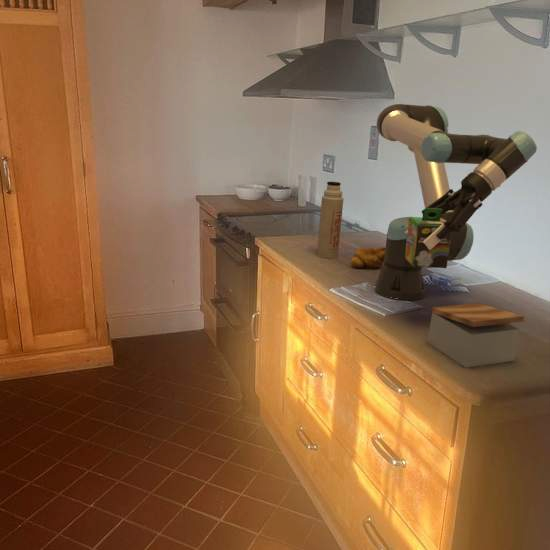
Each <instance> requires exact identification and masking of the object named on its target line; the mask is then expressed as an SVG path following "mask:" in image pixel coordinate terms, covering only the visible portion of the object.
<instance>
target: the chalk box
mask: <svg viewBox="0 0 550 550" xmlns="http://www.w3.org/2000/svg"><path fill="white" fill-rule="evenodd" d="M424 209H425V210H424ZM424 209H423V210H424V213H423V214H422V216H423V217H422V216H409V217H410V218H409V222H408V231H407V240H406V250H405V259H406V260H407V261H408V262H409V263H410V264H411V265H412V266H413V267H415V266H416V267H422V268H423V267H424V268H436V269H437V268H440V269H447V267H448V262H449V261H448V255H449V248H450V241H451V235H452V232H450V233H449V234H447V235H446V236H445V237H444V238H443V239H442V240H441V241H440V242H438V243H437V244H436V245H435V246H434V247H433V248H432V249H431V250H429V249H428V248H427V246H426V245H425V244H424V243H423V241H424V240H425V239H426V238H428V237H429V236H430V235H431V234H432V233H433V232H434V231H435V230H436V229H437V228H439V227H440V226H441V225H442V224H443V225H444V226H445V224H444V222H446V220H444V219H443V218H441V214H442V209H439V208H425V207H424ZM430 212H435V213H436V216H435V217H429V216H428V214H429V213H430Z"/></svg>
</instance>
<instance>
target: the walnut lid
mask: <svg viewBox="0 0 550 550" xmlns="http://www.w3.org/2000/svg"><path fill="white" fill-rule="evenodd" d="M430 312H431V314H432V313H435V314H438V315H441V316H443V317H446V318H449V319H452V320H455V321H458V322H460V323H463V324H466V325H469V326H472V327H477V326H486V325H496V324H505V323H509V324H511V323H512V324H513V323H523V322H524V319H525V316H524V315H520V314H517V313H514V312H510V311H507V310H503V309H501V308H497V307H493V306H489V305H486V304H483V303H480V302H477V303H467V304H466V303H464V304H455V305H443V306H434V307H430Z"/></svg>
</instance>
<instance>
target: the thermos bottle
mask: <svg viewBox="0 0 550 550" xmlns="http://www.w3.org/2000/svg"><path fill="white" fill-rule="evenodd" d="M326 184H327V185H326V189H325V190H324V191H323V196H321V205H320V213H319V214H320V217H319V227H318V237H317V238H318V240H317V249H316V250H317V251H316V256H317V257H320V258H321V259H329V260H330V259H337V258H338V256H339V248H340V236H341V228H342V227H341V226H342V218H343V208H344V207H343V206H344V197H343V192H342V190H341V185H342V183H341V182H340V181H327V183H326Z"/></svg>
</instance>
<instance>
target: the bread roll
mask: <svg viewBox="0 0 550 550" xmlns="http://www.w3.org/2000/svg"><path fill="white" fill-rule="evenodd" d="M385 248H386V247H377V248H374V247H367V248H357V249H356V250H355V252H354V253H353V257H352V258H351V260H350V264H351V266H352V267H353V268H357V269H365V268H366V269H371V270H376V269H379V268H381V267H382V266H383V265H384V256H385Z"/></svg>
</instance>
